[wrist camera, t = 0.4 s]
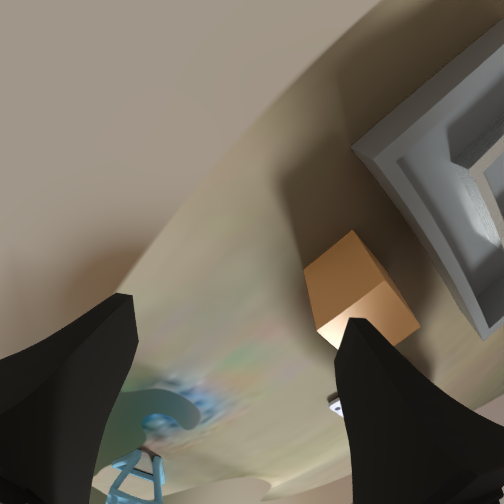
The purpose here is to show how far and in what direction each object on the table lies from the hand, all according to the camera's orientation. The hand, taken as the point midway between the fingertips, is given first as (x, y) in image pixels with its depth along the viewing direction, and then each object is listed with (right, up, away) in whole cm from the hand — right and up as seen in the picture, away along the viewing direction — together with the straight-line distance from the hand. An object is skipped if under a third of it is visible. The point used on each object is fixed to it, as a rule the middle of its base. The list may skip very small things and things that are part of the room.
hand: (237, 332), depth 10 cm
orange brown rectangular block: (+6, +2, +10) cm, 12 cm away
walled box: (+17, +8, +6) cm, 20 cm away
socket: (+17, +8, +6) cm, 20 cm away
